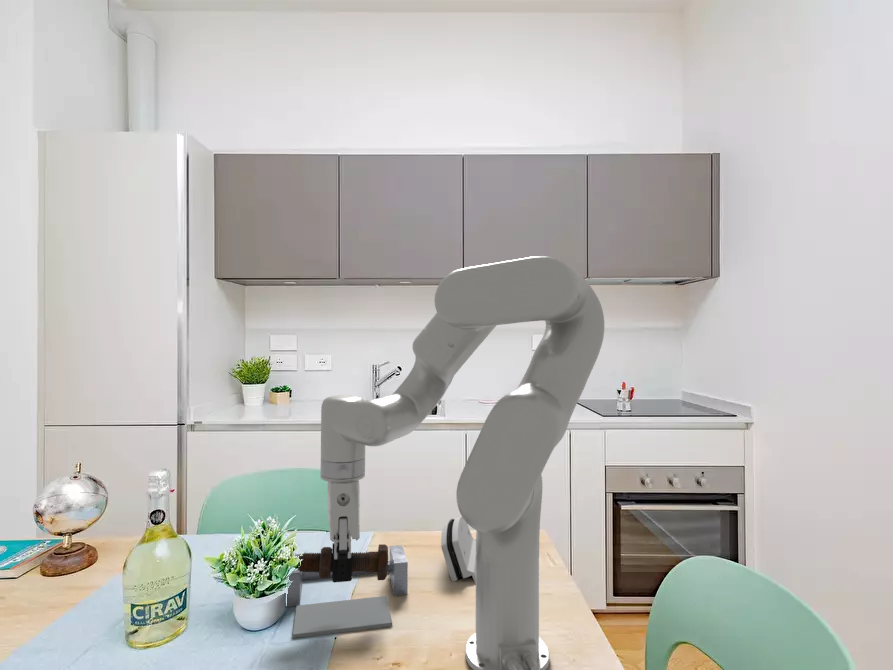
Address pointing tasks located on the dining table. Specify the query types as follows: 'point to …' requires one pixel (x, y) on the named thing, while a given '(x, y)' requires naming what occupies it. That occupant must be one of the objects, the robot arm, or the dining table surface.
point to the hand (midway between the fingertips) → (341, 571)
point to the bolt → (360, 562)
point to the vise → (395, 567)
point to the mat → (341, 616)
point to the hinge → (459, 549)
